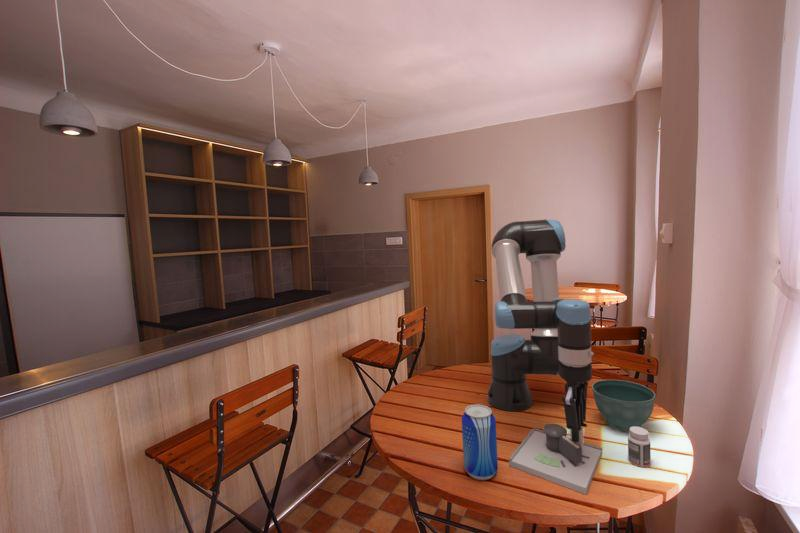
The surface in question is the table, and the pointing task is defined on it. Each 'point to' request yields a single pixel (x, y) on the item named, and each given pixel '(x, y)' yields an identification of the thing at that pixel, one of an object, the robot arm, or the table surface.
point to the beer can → (479, 442)
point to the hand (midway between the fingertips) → (577, 451)
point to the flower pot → (623, 403)
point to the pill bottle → (639, 447)
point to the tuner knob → (562, 442)
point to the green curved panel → (554, 460)
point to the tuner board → (564, 476)
